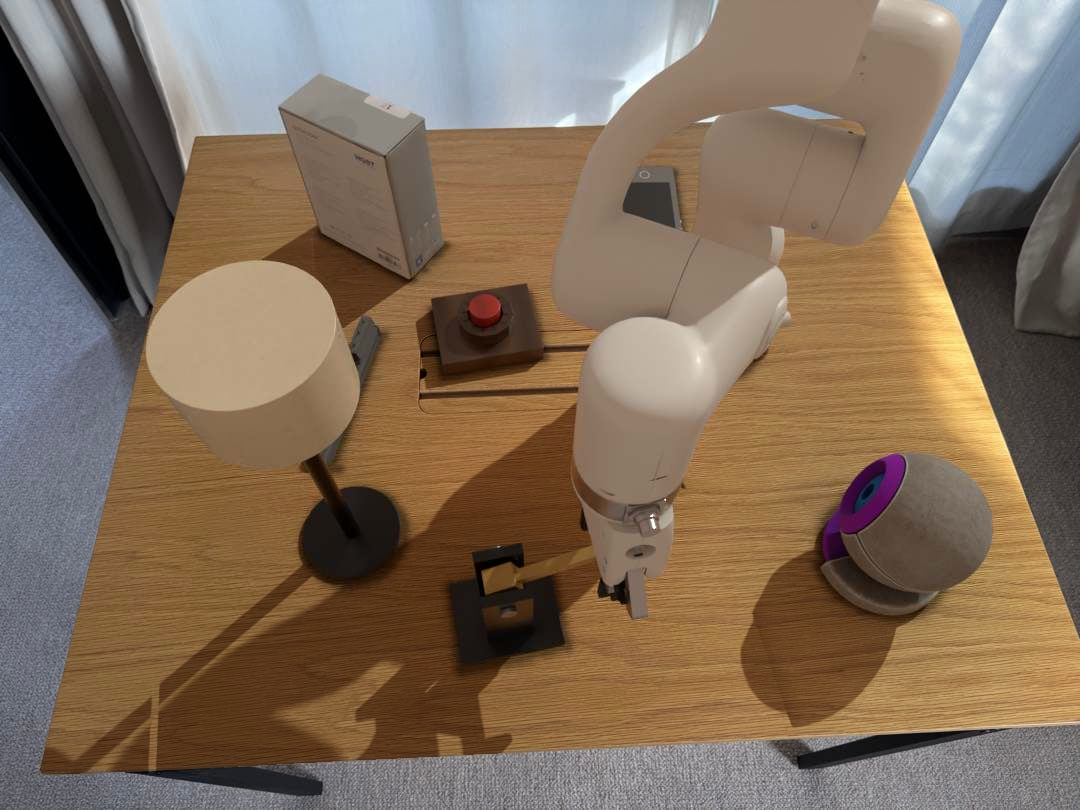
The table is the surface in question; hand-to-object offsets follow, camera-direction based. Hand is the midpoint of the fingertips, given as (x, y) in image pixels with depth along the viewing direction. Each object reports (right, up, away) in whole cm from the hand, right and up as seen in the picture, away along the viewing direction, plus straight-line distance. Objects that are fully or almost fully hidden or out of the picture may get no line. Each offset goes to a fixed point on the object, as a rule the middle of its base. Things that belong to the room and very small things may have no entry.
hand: (606, 556), depth 67 cm
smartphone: (+9, +40, +38) cm, 56 cm away
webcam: (+29, -2, +13) cm, 32 cm away
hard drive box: (-27, +35, +35) cm, 56 cm away
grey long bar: (-28, +14, +22) cm, 38 cm away
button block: (-12, +22, +27) cm, 37 cm away
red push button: (-12, +24, +24) cm, 36 cm away
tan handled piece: (-4, -1, 0) cm, 4 cm away
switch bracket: (-9, -8, +9) cm, 15 cm away
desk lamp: (-25, -1, +14) cm, 29 cm away
